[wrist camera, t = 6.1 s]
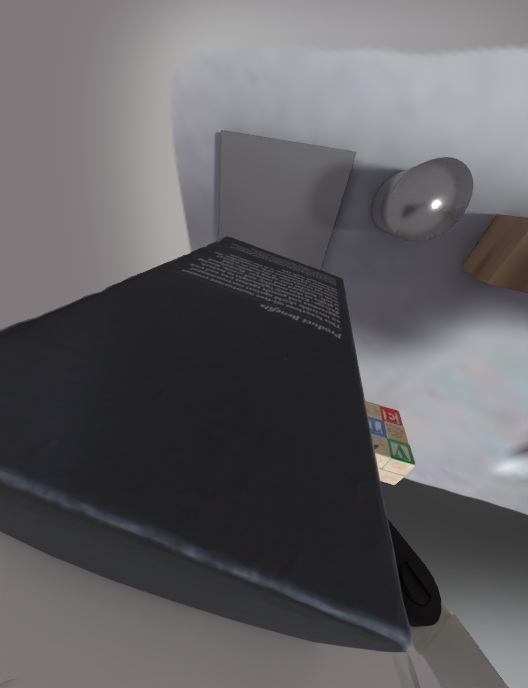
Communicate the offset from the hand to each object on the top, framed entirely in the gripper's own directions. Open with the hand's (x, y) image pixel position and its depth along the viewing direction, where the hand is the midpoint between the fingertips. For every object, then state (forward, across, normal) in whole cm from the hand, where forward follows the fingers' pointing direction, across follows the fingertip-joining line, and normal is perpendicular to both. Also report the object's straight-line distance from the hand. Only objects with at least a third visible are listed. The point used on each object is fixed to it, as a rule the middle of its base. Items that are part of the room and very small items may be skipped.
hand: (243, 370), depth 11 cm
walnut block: (+20, -20, -6) cm, 29 cm away
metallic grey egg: (+20, -9, -8) cm, 23 cm away
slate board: (+20, +3, -2) cm, 21 cm away
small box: (+3, 0, 0) cm, 3 cm away
